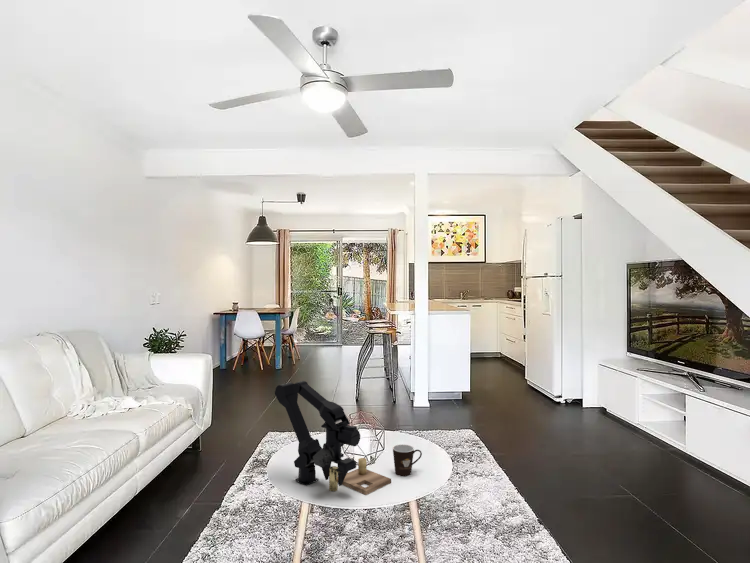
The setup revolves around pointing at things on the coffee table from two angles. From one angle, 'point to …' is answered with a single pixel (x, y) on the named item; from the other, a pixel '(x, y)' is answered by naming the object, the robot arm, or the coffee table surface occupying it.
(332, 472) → the brass pin
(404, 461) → the coffee mug
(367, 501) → the coffee table surface
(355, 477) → the pin board
